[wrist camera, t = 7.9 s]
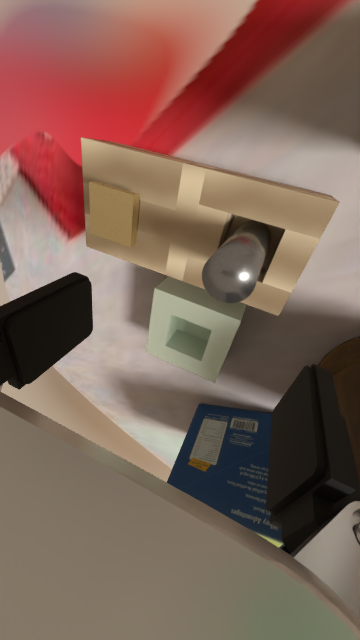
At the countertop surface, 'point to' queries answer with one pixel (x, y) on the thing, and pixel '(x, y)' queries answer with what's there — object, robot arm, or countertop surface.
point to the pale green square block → (192, 327)
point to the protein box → (229, 466)
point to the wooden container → (347, 389)
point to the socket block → (206, 216)
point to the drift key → (114, 213)
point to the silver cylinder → (237, 263)
